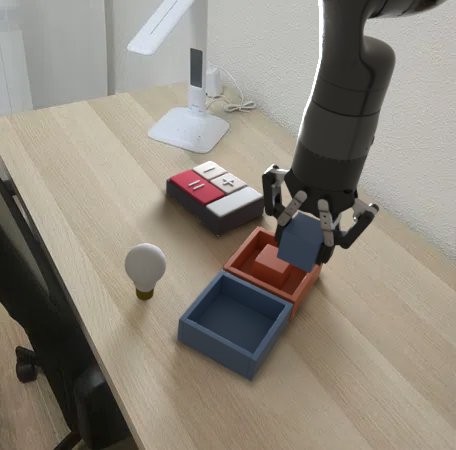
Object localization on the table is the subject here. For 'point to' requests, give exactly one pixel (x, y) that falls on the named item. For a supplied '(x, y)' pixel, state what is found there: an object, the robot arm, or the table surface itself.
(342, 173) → the robot arm
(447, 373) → the table surface
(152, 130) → the table surface
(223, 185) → the calculator
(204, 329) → the blue bin
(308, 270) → the blue block
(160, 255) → the light bulb
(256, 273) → the terracotta block
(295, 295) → the terracotta bin
